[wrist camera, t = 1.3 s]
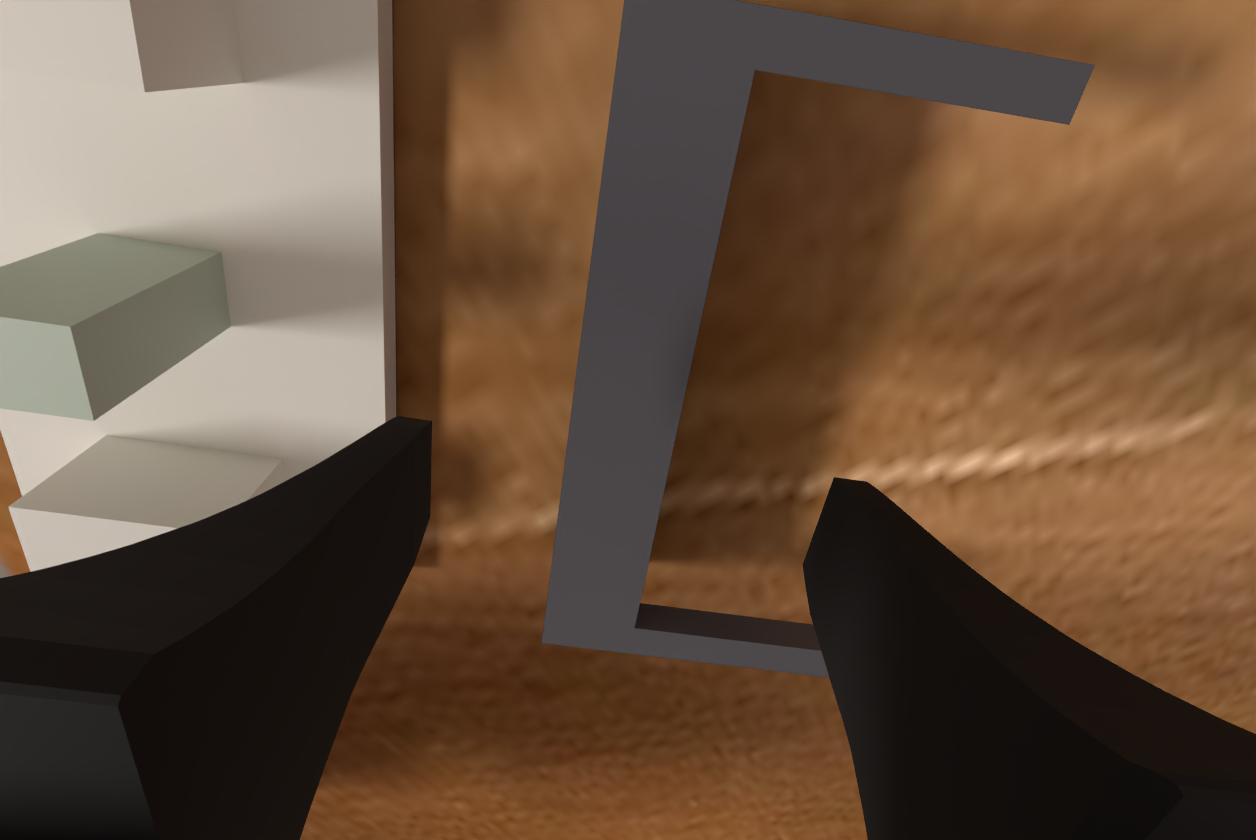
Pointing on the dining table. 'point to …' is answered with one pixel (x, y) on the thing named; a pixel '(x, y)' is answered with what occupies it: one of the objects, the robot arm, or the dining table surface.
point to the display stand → (188, 255)
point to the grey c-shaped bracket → (707, 283)
